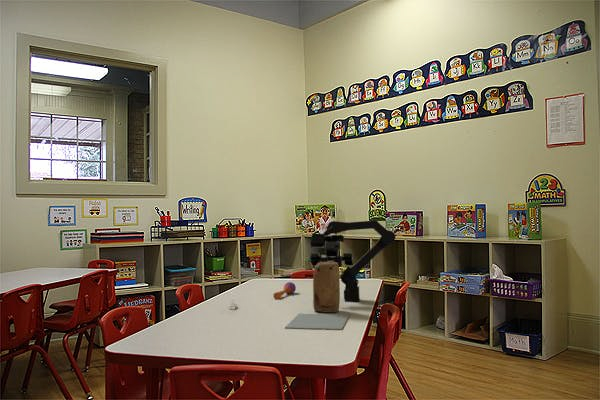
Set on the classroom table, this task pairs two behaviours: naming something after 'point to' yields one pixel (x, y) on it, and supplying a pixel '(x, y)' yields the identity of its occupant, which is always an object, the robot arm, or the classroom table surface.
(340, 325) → the mat
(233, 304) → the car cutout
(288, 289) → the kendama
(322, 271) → the block
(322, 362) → the classroom table surface
